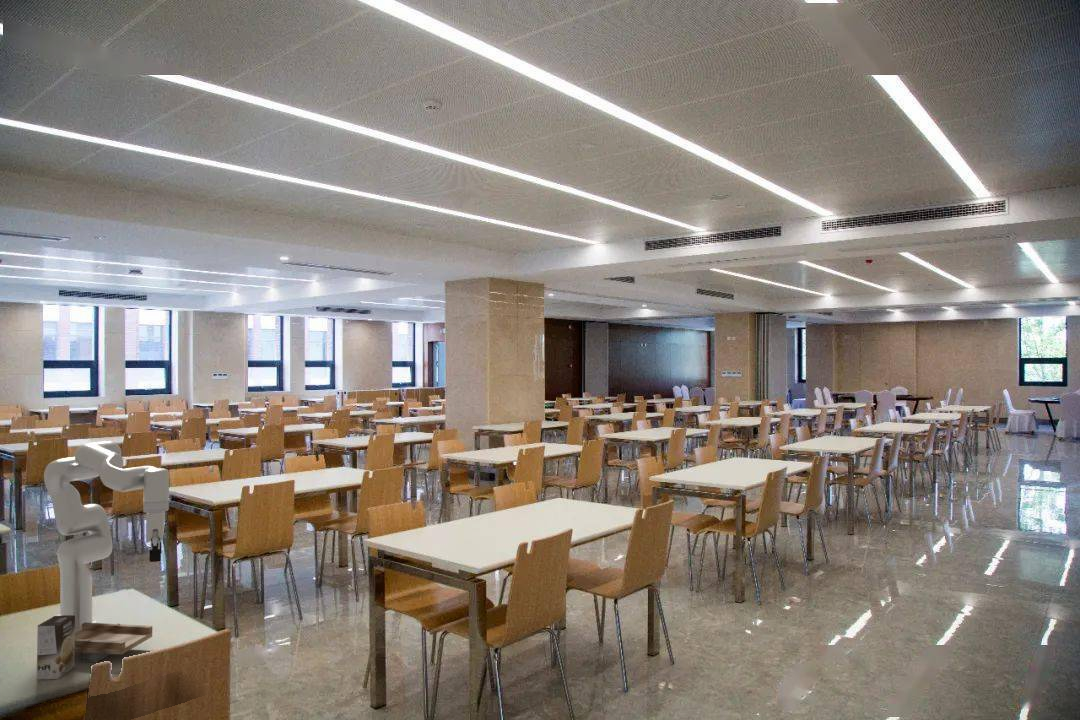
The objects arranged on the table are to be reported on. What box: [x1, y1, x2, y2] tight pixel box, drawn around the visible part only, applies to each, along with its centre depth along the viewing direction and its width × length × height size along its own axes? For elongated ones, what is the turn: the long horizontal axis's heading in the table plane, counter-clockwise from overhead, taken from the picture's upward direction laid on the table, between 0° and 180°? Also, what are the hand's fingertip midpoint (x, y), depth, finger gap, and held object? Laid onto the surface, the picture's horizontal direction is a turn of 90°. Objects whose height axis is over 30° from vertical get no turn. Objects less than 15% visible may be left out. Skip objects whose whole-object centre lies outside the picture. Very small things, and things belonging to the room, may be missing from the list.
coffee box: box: [36, 615, 76, 680], centre depth 226 cm, size 9×6×16 cm
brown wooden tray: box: [75, 622, 153, 663], centre depth 240 cm, size 24×15×7 cm, turn 84°
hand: (155, 557), depth 247 cm, fingers open, 9 cm apart
